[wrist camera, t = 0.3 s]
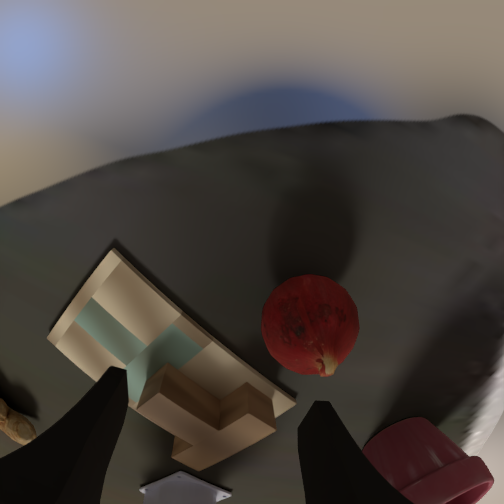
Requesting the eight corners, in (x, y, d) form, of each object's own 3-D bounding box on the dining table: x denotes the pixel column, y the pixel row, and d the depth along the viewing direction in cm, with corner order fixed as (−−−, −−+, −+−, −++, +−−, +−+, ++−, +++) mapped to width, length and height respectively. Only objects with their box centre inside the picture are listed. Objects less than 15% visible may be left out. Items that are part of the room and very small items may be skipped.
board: (210, 450, 26) (209, 455, 25) (49, 334, 21) (46, 338, 21) (295, 399, 24) (296, 403, 24) (114, 247, 20) (111, 250, 19)
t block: (201, 443, 25) (198, 471, 21) (127, 396, 23) (116, 424, 19) (272, 399, 23) (276, 430, 20) (193, 340, 21) (186, 370, 18)
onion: (240, 292, 21) (242, 364, 13) (308, 240, 20) (349, 290, 12) (289, 345, 22) (310, 423, 15) (351, 300, 22) (399, 365, 14)
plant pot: (456, 424, 28) (499, 489, 16) (371, 482, 31) (396, 552, 18) (427, 379, 25) (490, 468, 13) (316, 454, 27) (341, 552, 15)
